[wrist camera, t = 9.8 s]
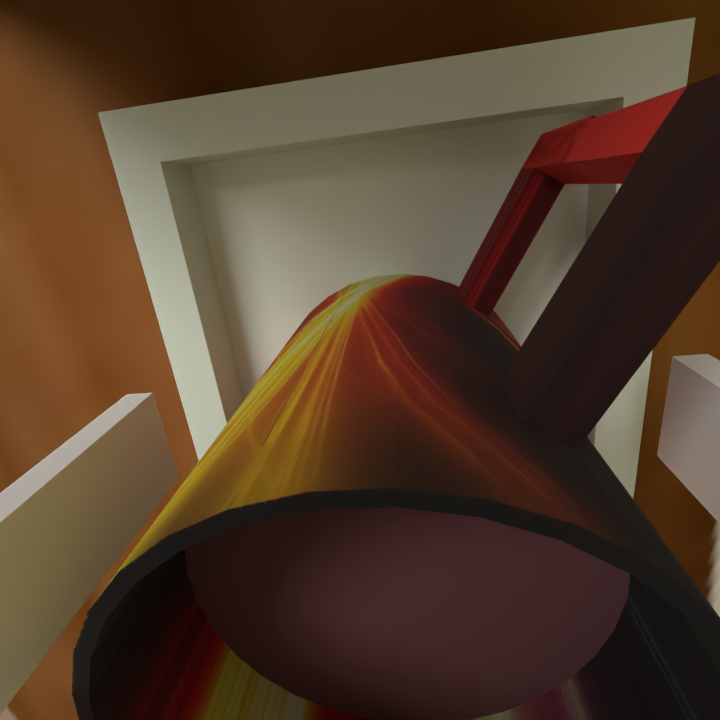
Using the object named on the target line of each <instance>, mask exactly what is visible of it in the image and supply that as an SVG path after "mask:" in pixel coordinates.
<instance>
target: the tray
mask: <svg viewBox="0 0 720 720" xmlns="http://www.w3.org/2000/svg"><path fill="white" fill-rule="evenodd" d="M694 25H695V17H694V18H688V19H682V20H676V21H669V22H663V23H657V24H651V25H644V26H638V27H632V28H625V29H619V30H613V31H607V32H600V33H594V34H588V35H581V36H575V37H569V38H563V39H556V40H550V41H544V42H537V43H531V44H525V45H519V46H512V47H506V48H500V49H493V50H487V51H481V52H475V53H468V54H462V55H456V56H450V57H443V58H437V59H431V60H424V61H418V62H412V63H406V64H399V65H393V66H387V67H380V68H374V69H368V70H362V71H355V72H349V73H343V74H336V75H330V76H324V77H318V78H311V79H305V80H299V81H292V82H286V83H280V84H274V85H267V86H261V87H255V88H249V89H242V90H236V91H230V92H223V93H217V94H211V95H205V96H198V97H192V98H186V99H179V100H173V101H167V102H161V103H154V104H148V105H142V106H135V107H129V108H123V109H117V110H110V111H104V112H98V115H99V118H100V122H101V125H102V129H103V132H104V135H105V139H106V142H107V146H108V149H109V153H110V156H111V160H112V163H113V166H114V170H115V173H116V177H117V180H118V184H119V187H120V191H121V194H122V198H123V201H124V204H125V208H126V211H127V215H128V218H129V222H130V225H131V229H132V232H133V235H134V239H135V242H136V246H137V249H138V253H139V256H140V260H141V263H142V266H143V270H144V273H145V277H146V280H147V284H148V287H149V291H150V294H151V297H152V301H153V304H154V308H155V311H156V315H157V318H158V322H159V325H160V329H161V332H162V335H163V339H164V342H165V346H166V349H167V353H168V356H169V360H170V363H171V366H172V370H173V373H174V377H175V380H176V384H177V387H178V391H179V394H180V397H181V401H182V404H183V408H184V411H185V415H186V418H187V422H188V425H189V428H190V432H191V435H192V439H193V442H194V446H195V449H196V453H197V456H198V459H199V461H200V459H201V458H202V457H203V455H204V454H205V453H206V451H207V450H208V449H209V447H210V446H211V444H212V443H213V442H214V440H215V439H216V438H217V436H218V435H219V434H220V432H221V431H222V430H223V428H224V427H225V426H226V424H227V423H228V422H229V420H230V419H231V417H232V416H233V415H234V413H235V412H236V411H237V409H238V408H239V407H240V405H241V404H242V403H243V401H244V400H245V399H246V397H247V396H248V394H249V393H250V392H251V390H252V389H253V388H254V386H255V385H256V384H257V382H258V381H259V380H260V378H261V377H262V376H263V374H264V373H265V372H266V370H267V369H268V367H269V366H270V365H271V363H272V362H273V361H274V359H275V358H276V357H277V355H278V354H279V353H280V351H281V350H282V349H283V347H284V346H285V344H286V343H287V342H288V340H289V339H290V338H291V336H292V335H293V334H294V332H295V331H296V330H297V328H298V327H299V326H300V324H301V323H302V322H303V320H304V319H305V318H306V317H307V315H308V314H309V313H310V312H311V311H312V310H313V309H314V308H315V307H317V306H318V305H319V304H320V303H321V302H322V301H324V300H325V299H326V298H327V297H328V296H330V295H332V294H334V293H336V292H337V291H339V290H341V289H343V288H345V287H346V286H348V285H350V284H353V283H356V282H360V281H363V280H366V279H369V278H372V277H377V276H386V275H396V274H407V275H419V276H428V277H432V278H435V279H438V280H442V281H445V282H449V283H452V284H454V285H456V286H458V287H459V286H460V284H461V282H462V280H463V278H464V276H465V274H466V272H467V271H468V269H469V267H470V265H471V263H472V261H473V259H474V257H475V255H476V253H477V252H478V250H479V248H480V246H481V244H482V242H483V240H484V238H485V236H486V234H487V233H488V231H489V229H490V227H491V225H492V223H493V221H494V219H495V217H496V216H497V214H498V212H499V210H500V208H501V206H502V204H503V202H504V200H505V198H506V197H507V195H508V193H509V191H510V189H511V187H512V185H513V183H514V181H515V179H516V178H517V176H518V174H519V172H520V170H521V168H522V166H523V164H524V163H525V161H526V159H527V158H528V156H529V154H530V153H531V151H532V149H533V148H534V146H535V144H536V143H537V141H538V139H539V137H540V136H541V135H542V134H543V133H546V132H548V131H551V130H554V129H556V128H559V127H562V126H564V125H567V124H570V123H573V122H575V121H578V120H581V119H583V118H586V117H589V116H591V115H594V116H596V117H599V116H602V115H605V114H608V113H611V112H614V111H617V110H619V109H622V108H625V107H628V106H631V105H634V104H637V103H639V102H642V101H645V100H648V99H651V98H654V97H656V96H659V95H662V94H665V93H668V92H671V91H674V90H676V89H679V88H682V87H685V86H687V79H688V71H689V64H690V56H691V48H692V40H693V33H694ZM621 185H622V184H565V185H564V187H563V189H562V190H561V192H560V194H559V196H558V197H557V199H556V201H555V203H554V204H553V206H552V208H551V210H550V211H549V213H548V215H547V217H546V218H545V220H544V222H543V224H542V225H541V227H540V229H539V231H538V232H537V234H536V236H535V238H534V239H533V241H532V243H531V245H530V246H529V248H528V250H527V252H526V253H525V255H524V257H523V259H522V260H521V262H520V264H519V266H518V267H517V269H516V271H515V273H514V274H513V276H512V278H511V279H510V281H509V283H508V285H507V286H506V288H505V290H504V292H503V293H502V295H501V297H500V299H499V300H498V302H497V304H496V306H495V307H494V309H493V311H495V312H496V314H497V315H498V316H499V317H500V319H501V320H502V321H503V323H504V324H505V325H506V326H507V328H508V329H509V330H510V332H511V333H512V334H513V336H514V337H515V338H516V340H517V341H518V342H519V344H520V345H521V346H522V345H523V343H524V341H525V340H526V338H527V337H528V335H529V333H530V332H531V330H532V328H533V327H534V325H535V324H536V322H537V320H538V319H539V317H540V316H541V314H542V312H543V311H544V309H545V308H546V306H547V304H548V303H549V301H550V299H551V298H552V296H553V295H554V293H555V291H556V290H557V288H558V287H559V285H560V283H561V282H562V280H563V278H564V277H565V275H566V274H567V272H568V270H569V269H570V267H571V266H572V264H573V262H574V261H575V259H576V258H577V256H578V254H579V253H580V251H581V249H582V248H583V246H584V245H585V243H586V241H587V240H588V238H589V237H590V235H591V233H592V232H593V230H594V229H595V227H596V225H597V224H598V222H599V220H600V219H601V217H602V216H603V214H604V212H605V211H606V209H607V208H608V206H609V204H610V203H611V201H612V199H613V198H614V196H615V195H616V193H617V191H618V190H619V188H620V187H621ZM651 358H652V351H651V352H650V354H649V355H648V356H647V358H646V359H645V360H644V362H643V363H642V364H641V366H640V367H639V368H638V370H637V371H636V372H635V374H634V375H633V376H632V378H631V379H630V380H629V382H628V383H627V384H626V386H625V387H624V388H623V390H622V391H621V392H620V394H619V395H618V396H617V398H616V399H615V400H614V402H613V403H612V404H611V406H610V407H609V408H608V410H607V411H606V412H605V414H604V415H603V416H602V418H601V419H600V420H599V422H598V423H597V424H596V426H595V427H594V428H593V430H592V431H591V432H590V434H589V435H588V436H587V437H588V438H589V439H590V441H591V442H592V444H593V445H594V446H595V448H596V449H597V450H598V452H599V453H600V455H601V456H602V457H603V459H604V460H605V461H606V463H607V464H608V465H609V467H610V468H611V470H612V471H613V472H614V474H615V475H616V476H617V478H618V479H619V480H620V482H621V483H622V485H623V486H624V487H625V489H626V490H627V491H628V493H629V494H630V496H631V497H632V498H633V497H634V490H635V482H636V474H637V466H638V459H639V451H640V443H641V435H642V428H643V420H644V412H645V404H646V397H647V389H648V381H649V373H650V366H651Z"/></svg>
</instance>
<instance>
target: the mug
mask: <svg viewBox="0 0 720 720" xmlns="http://www.w3.org/2000/svg"><path fill="white" fill-rule="evenodd" d="M565 184H622V185H621V187H620V188H619V190H618V191H617V193H616V195H615V196H614V198H613V199H612V201H611V203H610V204H609V206H608V208H607V209H606V211H605V212H604V214H603V216H602V217H601V219H600V220H599V222H598V224H597V225H596V227H595V229H594V230H593V232H592V233H591V235H590V237H589V238H588V240H587V241H586V243H585V245H584V246H583V248H582V249H581V251H580V253H579V254H578V256H577V258H576V259H575V261H574V262H573V264H572V266H571V267H570V269H569V270H568V272H567V274H566V275H565V277H564V278H563V280H562V282H561V283H560V285H559V287H558V288H557V290H556V291H555V293H554V295H553V296H552V298H551V299H550V301H549V303H548V304H547V306H546V308H545V309H544V311H543V312H542V314H541V316H540V317H539V319H538V320H537V322H536V324H535V325H534V327H533V328H532V330H531V332H530V333H529V335H528V337H527V338H526V340H525V341H524V343H523V345H522V346H521V345H520V344H519V342H518V341H517V340H516V338H515V337H514V336H513V334H512V333H511V332H510V330H509V329H508V328H507V326H506V325H505V324H504V323H503V321H502V320H501V319H500V317H499V316H498V315H497V314H496V312H495V311H493V309H494V307H495V306H496V304H497V302H498V300H499V299H500V297H501V295H502V293H503V292H504V290H505V288H506V286H507V285H508V283H509V281H510V279H511V278H512V276H513V274H514V273H515V271H516V269H517V267H518V266H519V264H520V262H521V260H522V259H523V257H524V255H525V253H526V252H527V250H528V248H529V246H530V245H531V243H532V241H533V239H534V238H535V236H536V234H537V232H538V231H539V229H540V227H541V225H542V224H543V222H544V220H545V218H546V217H547V215H548V213H549V211H550V210H551V208H552V206H553V204H554V203H555V201H556V199H557V197H558V196H559V194H560V192H561V190H562V189H563V187H564V185H565ZM719 261H720V74H719V75H716V76H714V77H711V78H708V79H705V80H702V81H699V82H696V83H694V84H691V85H688V86H685V87H682V88H679V89H676V90H674V91H671V92H668V93H665V94H662V95H659V96H656V97H654V98H651V99H648V100H645V101H642V102H639V103H637V104H634V105H631V106H628V107H625V108H622V109H619V110H617V111H614V112H611V113H608V114H605V115H602V116H599V117H596V116H594V115H591V116H589V117H586V118H583V119H581V120H578V121H575V122H573V123H570V124H567V125H564V126H562V127H559V128H556V129H554V130H551V131H548V132H546V133H543V134H542V135H541V136H540V137H539V139H538V141H537V143H536V144H535V146H534V148H533V149H532V151H531V153H530V154H529V156H528V158H527V159H526V161H525V163H524V164H523V166H522V168H521V170H520V172H519V174H518V176H517V178H516V179H515V181H514V183H513V185H512V187H511V189H510V191H509V193H508V195H507V197H506V198H505V200H504V202H503V204H502V206H501V208H500V210H499V212H498V214H497V216H496V217H495V219H494V221H493V223H492V225H491V227H490V229H489V231H488V233H487V234H486V236H485V238H484V240H483V242H482V244H481V246H480V248H479V250H478V252H477V253H476V255H475V257H474V259H473V261H472V263H471V265H470V267H469V269H468V271H467V272H466V274H465V276H464V278H463V280H462V282H461V284H460V286H459V287H458V286H456V285H454V284H452V283H449V282H445V281H442V280H438V279H435V278H432V277H428V276H419V275H407V274H396V275H386V276H377V277H372V278H369V279H366V280H363V281H360V282H356V283H353V284H350V285H348V286H346V287H345V288H343V289H341V290H339V291H337V292H336V293H334V294H332V295H330V296H328V297H327V298H326V299H325V300H324V301H322V302H321V303H320V304H319V305H318V306H317V307H315V308H314V309H313V310H312V311H311V312H310V313H309V314H308V315H307V317H306V318H305V319H304V320H303V322H302V323H301V324H300V326H299V327H298V328H297V330H296V331H295V332H294V334H293V335H292V336H291V338H290V339H289V340H288V342H287V343H286V344H285V346H284V347H283V349H282V350H281V351H280V353H279V354H278V355H277V357H276V358H275V359H274V361H273V362H272V363H271V365H270V366H269V367H268V369H267V370H266V372H265V373H264V374H263V376H262V377H261V378H260V380H259V381H258V382H257V384H256V385H255V386H254V388H253V389H252V390H251V392H250V393H249V394H248V396H247V397H246V399H245V400H244V401H243V403H242V404H241V405H240V407H239V408H238V409H237V411H236V412H235V413H234V415H233V416H232V417H231V419H230V420H229V422H228V423H227V424H226V426H225V427H224V428H223V430H222V431H221V432H220V434H219V435H218V436H217V438H216V439H215V440H214V442H213V443H212V444H211V446H210V447H209V449H208V450H207V451H206V453H205V454H204V455H203V457H202V458H201V459H200V461H199V462H198V463H197V465H196V466H195V467H194V469H193V470H192V472H191V473H190V474H189V476H188V477H187V478H186V480H185V481H184V482H183V484H182V485H181V486H180V488H179V489H178V490H177V492H176V493H175V494H174V496H173V497H172V499H171V500H170V501H169V503H168V504H167V505H166V507H165V508H164V509H163V511H162V512H161V513H160V515H159V516H158V517H157V519H156V520H155V522H154V523H153V524H152V526H151V527H150V528H149V530H148V531H147V532H146V534H145V535H144V536H143V538H142V539H141V540H140V542H139V543H138V544H137V546H136V547H135V549H134V550H133V551H132V553H131V554H130V555H129V557H128V558H127V559H126V561H125V562H124V563H123V565H122V566H121V567H120V569H119V570H118V572H117V573H116V574H115V576H114V577H113V578H112V580H111V581H110V582H109V584H108V585H107V586H106V588H105V589H104V590H103V592H102V593H101V594H100V596H99V597H98V599H97V600H96V601H95V603H94V604H93V605H92V607H91V608H90V609H89V611H88V613H87V615H86V618H85V621H84V624H83V626H82V629H81V632H80V635H79V638H78V640H77V643H76V646H75V649H74V652H73V673H72V696H73V699H74V703H75V707H76V710H77V714H78V718H79V720H720V617H719V616H718V614H717V613H716V612H715V610H714V609H713V608H712V606H711V605H710V603H709V602H708V601H707V599H706V598H705V597H704V595H703V594H702V593H701V591H700V590H699V588H698V587H697V586H696V584H695V583H694V582H693V580H692V579H691V578H690V576H689V575H688V573H687V572H686V571H685V569H684V568H683V567H682V565H681V564H680V562H679V561H678V560H677V558H676V557H675V556H674V554H673V553H672V552H671V550H670V549H669V547H668V546H667V545H666V543H665V542H664V541H663V539H662V538H661V537H660V535H659V534H658V532H657V531H656V530H655V528H654V527H653V526H652V524H651V523H650V521H649V520H648V519H647V517H646V516H645V515H644V513H643V512H642V511H641V509H640V508H639V506H638V505H637V504H636V502H635V501H634V500H633V498H632V497H631V496H630V494H629V493H628V491H627V490H626V489H625V487H624V486H623V485H622V483H621V482H620V480H619V479H618V478H617V476H616V475H615V474H614V472H613V471H612V470H611V468H610V467H609V465H608V464H607V463H606V461H605V460H604V459H603V457H602V456H601V455H600V453H599V452H598V450H597V449H596V448H595V446H594V445H593V444H592V442H591V441H590V439H589V438H588V437H587V436H588V435H589V434H590V432H591V431H592V430H593V428H594V427H595V426H596V424H597V423H598V422H599V420H600V419H601V418H602V416H603V415H604V414H605V412H606V411H607V410H608V408H609V407H610V406H611V404H612V403H613V402H614V400H615V399H616V398H617V396H618V395H619V394H620V392H621V391H622V390H623V388H624V387H625V386H626V384H627V383H628V382H629V380H630V379H631V378H632V376H633V375H634V374H635V372H636V371H637V370H638V368H639V367H640V366H641V364H642V363H643V362H644V360H645V359H646V358H647V356H648V355H649V354H650V352H651V351H652V350H653V348H654V347H655V346H656V345H657V343H658V342H659V341H660V339H661V338H662V337H663V335H664V334H665V333H666V331H667V330H668V329H669V327H670V326H671V325H672V323H673V322H674V321H675V319H676V318H677V317H678V315H679V314H680V313H681V311H682V310H683V309H684V307H685V306H686V305H687V303H688V302H689V301H690V299H691V298H692V297H693V295H694V294H695V293H696V291H697V290H698V289H699V287H700V286H701V285H702V283H703V282H704V281H705V279H706V278H707V277H708V275H709V274H710V273H711V271H712V270H713V269H714V267H715V266H716V265H717V263H718V262H719Z"/></svg>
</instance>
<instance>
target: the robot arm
mask: <svg viewBox="0 0 720 720" xmlns="http://www.w3.org/2000/svg"><path fill="white" fill-rule="evenodd" d="M657 456H658V457H659V458H660V459H661V460H662V462H663V463H664V464H665V465H666V466H667V467H668V468H669V469H670V470H671V471H672V472H673V474H674V475H675V476H676V477H677V478H678V479H679V480H680V481H681V482H682V483H683V484H684V486H685V487H686V488H687V489H688V490H689V491H690V492H691V493H692V494H693V495H694V496H695V497H696V499H697V500H698V501H699V502H700V503H701V504H702V505H703V506H704V507H705V508H706V509H707V511H708V512H709V513H710V514H711V515H712V516H713V517H714V518H715V519H716V520H717V521H718V523H719V524H720V361H719V360H718V359H716V358H714V357H712V356H711V355H709V354H699V355H685V356H672V361H671V368H670V374H669V381H668V387H667V393H666V400H665V406H664V413H663V419H662V426H661V432H660V439H659V445H658V452H657ZM178 478H179V473H178V470H177V466H176V463H175V460H174V457H173V454H172V451H171V448H170V445H169V442H168V439H167V435H166V432H165V429H164V426H163V423H162V420H161V417H160V414H159V411H158V408H157V404H156V401H155V398H154V395H153V393H140V394H127V395H125V396H124V397H123V398H121V399H120V400H119V401H118V402H116V403H115V404H114V405H113V406H111V407H110V408H109V409H107V410H106V411H105V412H104V413H102V414H101V415H100V416H98V417H97V418H96V419H95V420H93V421H92V422H91V423H89V424H88V425H87V426H86V427H84V428H83V429H82V430H80V431H79V432H78V433H77V434H75V435H74V436H73V437H71V438H70V439H69V440H68V441H66V442H65V443H64V444H62V445H61V446H60V447H59V448H57V449H56V450H55V451H53V452H52V453H51V454H50V455H48V456H47V457H46V458H44V459H43V460H42V461H41V462H39V463H38V464H37V465H35V466H34V467H33V468H32V469H30V470H29V471H28V472H26V473H25V474H24V475H23V476H21V477H20V478H19V479H17V480H16V481H15V482H14V483H12V484H11V485H10V486H9V487H7V488H6V489H5V490H3V491H2V492H1V493H0V714H1V713H2V712H3V710H4V709H5V708H6V706H7V705H8V704H9V702H10V701H11V700H12V698H13V697H14V696H15V694H16V693H17V692H18V690H19V689H20V688H21V686H22V685H23V684H24V682H25V681H26V680H27V678H28V677H29V676H30V674H31V673H32V672H33V670H34V669H35V668H36V666H37V665H38V664H39V662H40V661H41V660H42V658H43V657H44V656H45V654H46V653H47V652H48V650H49V649H50V648H51V646H52V645H53V644H54V642H55V641H56V640H57V638H58V637H59V636H60V634H61V633H62V632H63V630H64V629H65V628H66V626H67V625H68V624H69V623H70V621H71V620H72V619H73V617H74V616H75V615H76V613H77V612H78V611H79V609H80V608H81V607H82V605H83V604H84V603H85V601H86V600H87V599H88V597H89V596H90V595H91V593H92V592H93V591H94V589H95V588H96V587H97V585H98V584H99V583H100V581H101V580H102V579H103V577H104V576H105V575H106V573H107V572H108V571H109V569H110V568H111V567H112V565H113V564H114V563H115V561H116V560H117V559H118V557H119V556H120V555H121V553H122V552H123V551H124V549H125V548H126V547H127V545H128V544H129V543H130V541H131V540H132V539H133V537H134V536H135V535H136V533H137V532H138V531H139V529H140V528H141V527H142V525H143V524H144V523H145V522H146V520H147V519H148V518H149V516H150V515H151V514H152V512H153V511H154V510H155V508H156V507H157V506H158V504H159V503H160V502H161V500H162V499H163V498H164V496H165V495H166V494H167V492H168V491H169V490H170V488H171V487H172V486H173V484H174V483H175V482H176V480H177V479H178Z"/></svg>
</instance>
